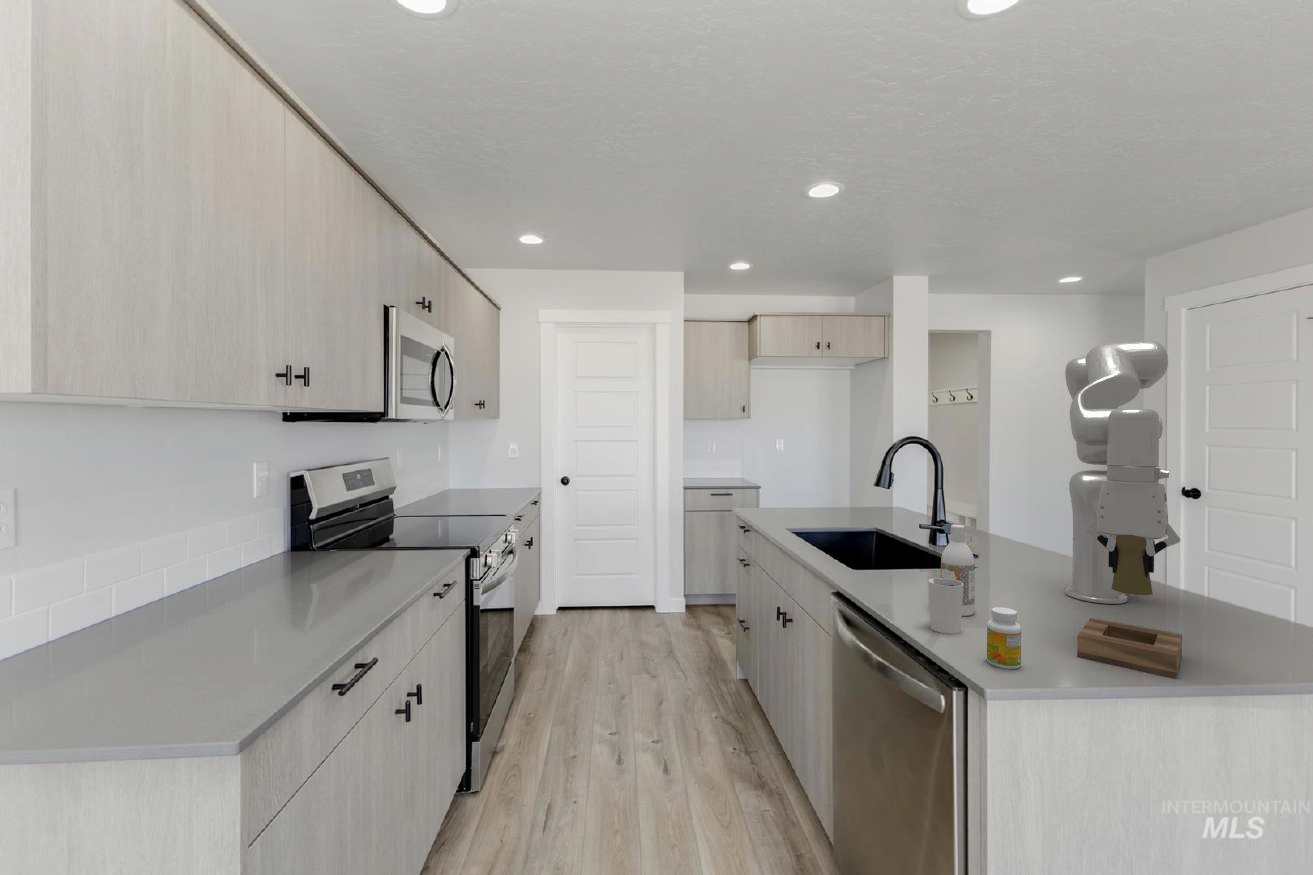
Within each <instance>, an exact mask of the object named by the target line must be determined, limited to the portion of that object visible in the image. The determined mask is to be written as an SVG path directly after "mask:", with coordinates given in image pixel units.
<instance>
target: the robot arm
mask: <svg viewBox="0 0 1313 875" xmlns="http://www.w3.org/2000/svg"><path fill="white" fill-rule="evenodd" d="M1167 352H1168V351H1167V350H1166V348H1165V347H1164V345H1163V344H1161V343H1160V342H1157V341H1154V340H1139V341H1138V340H1137V341H1121V342H1106V343H1101V344H1098V345H1096V346H1094V347H1093V348H1091V349H1090V350H1089V351H1088V352H1087V353H1086V355H1085V356H1079V357H1075V358H1073V359H1071V360H1069V361H1068V362H1067V364H1066V366H1065V373H1064V374H1065V384H1066V387H1067V390H1068V392H1069V395H1070V397H1071V399H1072V401H1071V403H1070V408H1069V422H1070V429H1071V435H1072V437H1073V440H1074V441H1075V442H1076V444H1075V445H1076V455H1077V458H1078V460H1079V461H1081V462H1082V463H1083V464H1087V465H1094V466H1095V465H1096V466H1106V470H1097V469H1096V470H1092V469H1091V470H1083V471H1081V470H1080V471H1077V472H1076V473H1074V474H1073V475H1072V476H1071V477H1070V479H1069V482H1068V485H1069V486H1068V487H1069V488H1068V490H1069V495H1070V503H1071V510H1072V577H1071V578H1072V580H1071V581H1072V582H1071V585H1069V586H1066V587H1065V589H1064V593H1065V594H1066V595H1067V596H1069V597H1071V598H1074V599H1077V600H1079V601H1080V600H1082V601H1084V602H1091V603H1096V604H1107V605H1110V604H1112V605H1113V604H1114V605H1116V604H1118V605H1119V604H1125V603H1127V602H1128V595H1126V593H1122V592H1118V591H1115V590H1113V589H1112V583H1113V577H1114V573H1116V571H1117V562H1118V547H1117V546H1116V537H1117V536H1119V535H1135V536H1139V537H1142V538H1145V539H1146V542H1147V545H1146V551H1145V555H1144V556H1143V563H1144V572H1145V576H1146V577H1147V578H1148V572H1149V573H1150V574H1153V573H1155V555H1156V554H1158V553H1159V552H1162V551H1163V550H1165V549H1166V548H1168V547H1171V546H1173V545H1177V544H1179V543H1180V542H1181V537H1180V536H1179V535H1178V533H1176V531H1175V530H1174V529H1173V527H1172V526H1171V525H1170V523H1169V513H1168V512H1169V510H1168V499H1167V493H1166V487H1165V485H1164V484H1163V483H1159V482H1160V480H1161V479H1169V477H1170V470H1165V469H1162V468H1160V466H1159V465H1160V464H1159V462H1160V461H1159V460H1160V439H1162V436H1163V430H1164V428H1163V420H1162V418H1161V416H1160V415H1159V412H1157V411H1156V410H1154V409H1149V408H1119V407H1121V406H1123V405H1127V404H1129V403H1130V402H1132V401H1133V400H1134V399H1135V398H1136V397H1137V396H1138V394H1140V391H1141V390H1145V389H1149V388H1151V387H1153V386H1154V385H1155V384H1156V383H1157V382H1159V381H1160V380H1161V379H1162V378H1163V377H1164V376H1165V375H1166V373H1167V370H1168V368H1169V357H1168V353H1167ZM1166 536H1167V538H1165V537H1166ZM1163 538H1165V539H1163ZM1160 539H1161V540H1160ZM1155 540H1160V541H1158V542H1157V543H1156V542H1155Z"/></svg>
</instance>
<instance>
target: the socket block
mask: <svg viewBox="0 0 1313 875" xmlns="http://www.w3.org/2000/svg"><path fill="white" fill-rule="evenodd" d="M1076 638H1077V641H1076V642H1077V643H1076V645H1077V646H1076V647H1077V649H1076V652H1077V653H1076V654H1077V656H1076V657H1077V658H1082V659H1087V660H1091V661H1095V662H1100V663H1105V664H1108V665H1109V664H1110V665H1113V666H1117V667H1122V668H1123V667H1124V668H1127V669H1132V670H1136V671H1140V672H1145V673H1150V674H1154V675H1158V676H1164V677H1168V678H1172V679H1177V677H1178V673H1179V668H1180V664H1181V660H1182V656H1183V655H1182V654H1183V652H1182V651H1183V633H1177V632H1171V631H1167V630H1166V631H1165V630H1160V629H1156V628H1155V629H1154V628H1149V627H1143V626H1137V625H1132V624H1126V623H1121V622H1115V621H1110V620H1105V619H1101V618H1095V617H1090V618H1089V619H1088V620H1087V622H1086V623H1085V625H1084V626H1083V627H1082V628H1081V630H1080V631H1079V632H1078V634H1077V636H1076Z"/></svg>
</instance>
